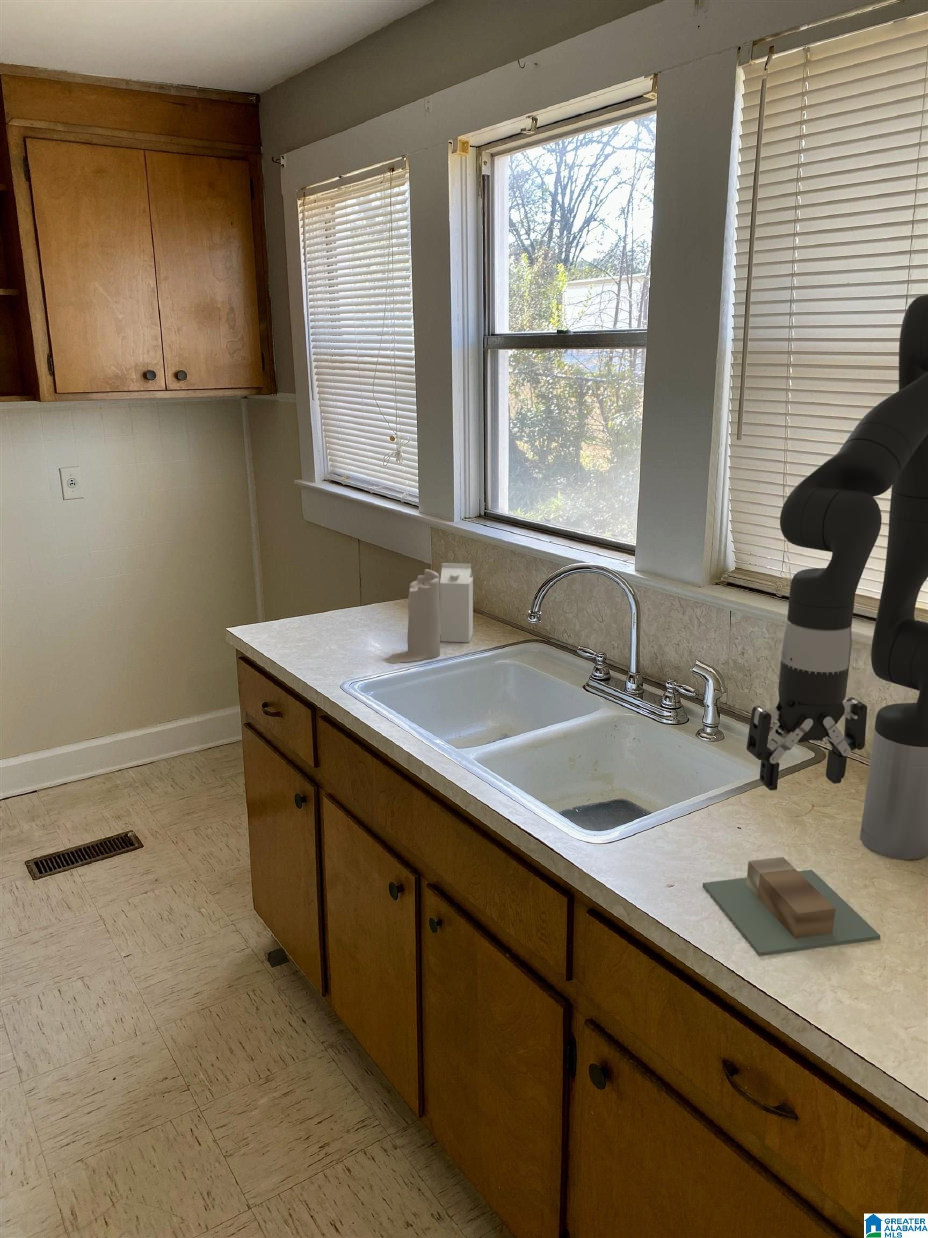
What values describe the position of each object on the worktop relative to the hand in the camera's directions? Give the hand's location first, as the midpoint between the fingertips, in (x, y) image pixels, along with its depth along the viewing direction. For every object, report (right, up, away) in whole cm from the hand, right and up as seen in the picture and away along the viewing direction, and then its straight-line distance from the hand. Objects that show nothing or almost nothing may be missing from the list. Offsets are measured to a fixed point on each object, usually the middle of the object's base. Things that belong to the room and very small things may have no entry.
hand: (801, 784), depth 112 cm
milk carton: (-43, +15, +116) cm, 125 cm away
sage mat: (0, -17, +5) cm, 18 cm away
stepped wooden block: (0, -17, +5) cm, 17 cm away
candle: (-53, +11, +102) cm, 116 cm away
